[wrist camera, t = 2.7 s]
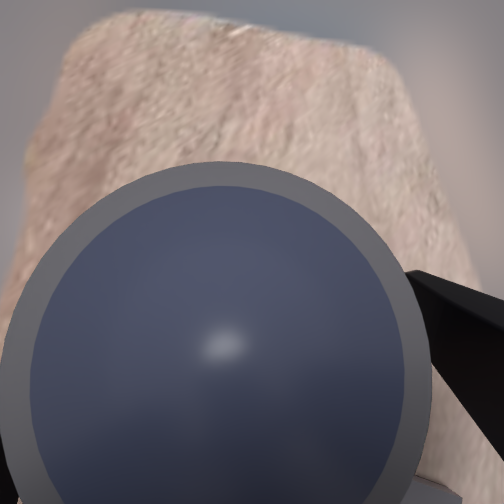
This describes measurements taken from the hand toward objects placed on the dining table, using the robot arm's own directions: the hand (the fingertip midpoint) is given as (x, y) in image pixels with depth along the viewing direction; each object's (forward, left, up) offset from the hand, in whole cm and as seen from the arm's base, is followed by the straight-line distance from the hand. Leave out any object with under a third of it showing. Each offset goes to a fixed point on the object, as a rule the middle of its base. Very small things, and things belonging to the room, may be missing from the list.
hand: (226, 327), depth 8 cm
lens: (0, 0, -8) cm, 8 cm away
